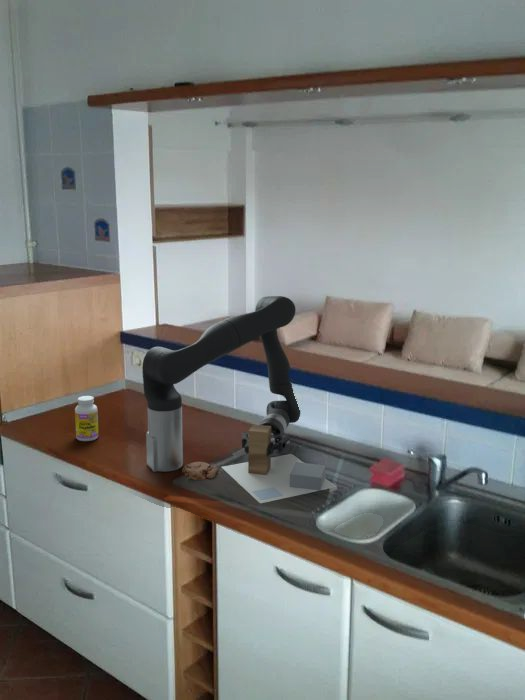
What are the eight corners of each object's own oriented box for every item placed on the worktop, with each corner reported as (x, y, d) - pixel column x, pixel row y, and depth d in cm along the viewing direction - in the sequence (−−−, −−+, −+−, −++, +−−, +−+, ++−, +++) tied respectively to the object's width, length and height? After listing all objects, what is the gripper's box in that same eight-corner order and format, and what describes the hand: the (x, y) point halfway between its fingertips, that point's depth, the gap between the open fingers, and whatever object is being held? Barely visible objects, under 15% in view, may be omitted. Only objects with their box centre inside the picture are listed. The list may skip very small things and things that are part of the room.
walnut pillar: (266, 475, 179) (267, 432, 176) (248, 473, 180) (248, 430, 177) (270, 467, 184) (271, 426, 181) (252, 465, 185) (253, 424, 182)
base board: (260, 507, 163) (260, 490, 162) (221, 470, 184) (221, 454, 183) (337, 490, 173) (338, 474, 172) (291, 457, 194) (292, 442, 193)
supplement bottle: (76, 442, 202) (74, 402, 199) (76, 435, 208) (73, 395, 205) (99, 441, 204) (97, 400, 201) (98, 433, 210) (96, 394, 207)
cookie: (197, 465, 188) (196, 455, 187) (226, 475, 182) (226, 464, 181) (172, 477, 180) (172, 467, 179) (202, 487, 174) (202, 477, 173)
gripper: (247, 415, 195) (231, 435, 179) (296, 419, 191) (284, 440, 175) (247, 439, 196) (231, 462, 180) (295, 444, 193) (283, 467, 177)
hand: (257, 451), depth 178 cm, fingers closed on walnut pillar, 5 cm apart
